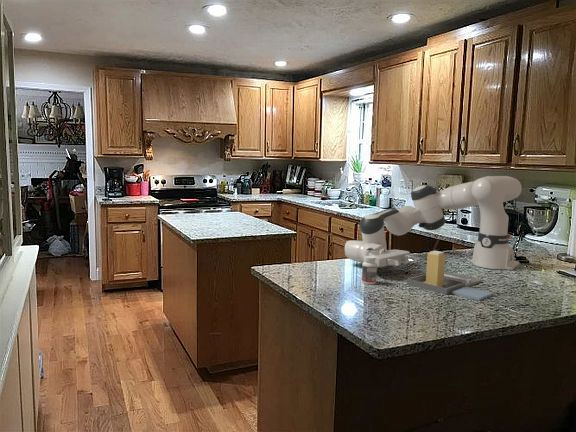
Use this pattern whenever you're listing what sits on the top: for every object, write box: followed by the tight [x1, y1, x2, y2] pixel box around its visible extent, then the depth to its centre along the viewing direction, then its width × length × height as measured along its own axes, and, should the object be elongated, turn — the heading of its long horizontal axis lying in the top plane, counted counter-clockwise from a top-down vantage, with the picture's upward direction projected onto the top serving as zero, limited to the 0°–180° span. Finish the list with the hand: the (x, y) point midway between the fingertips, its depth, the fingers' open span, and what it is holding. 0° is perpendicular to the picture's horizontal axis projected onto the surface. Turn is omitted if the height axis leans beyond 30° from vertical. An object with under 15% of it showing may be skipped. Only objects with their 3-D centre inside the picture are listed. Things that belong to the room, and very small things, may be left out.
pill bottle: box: [361, 256, 378, 285], centre depth 175 cm, size 5×5×10 cm
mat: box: [450, 286, 494, 302], centre depth 164 cm, size 10×10×1 cm
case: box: [406, 270, 483, 295], centre depth 177 cm, size 26×16×2 cm, turn 132°
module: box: [425, 250, 446, 287], centre depth 173 cm, size 4×4×13 cm
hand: (406, 261), depth 182 cm, fingers open, 8 cm apart
